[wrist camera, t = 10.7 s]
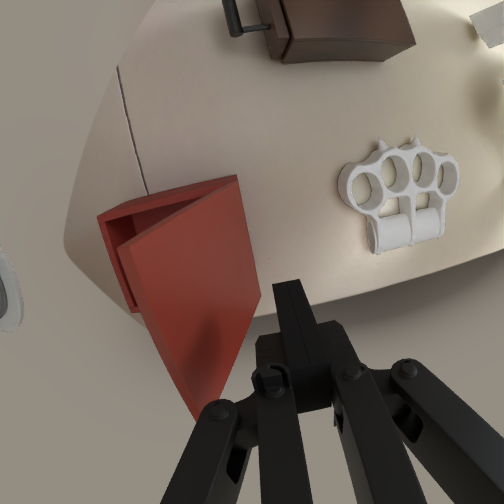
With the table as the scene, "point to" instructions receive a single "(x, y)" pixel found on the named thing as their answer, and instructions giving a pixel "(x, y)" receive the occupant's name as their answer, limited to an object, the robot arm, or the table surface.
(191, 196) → the chest
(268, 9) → the drawer
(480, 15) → the pile of blocks
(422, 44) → the table surface
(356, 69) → the table surface
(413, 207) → the white brass knuckles
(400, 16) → the cabinet
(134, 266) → the lid
